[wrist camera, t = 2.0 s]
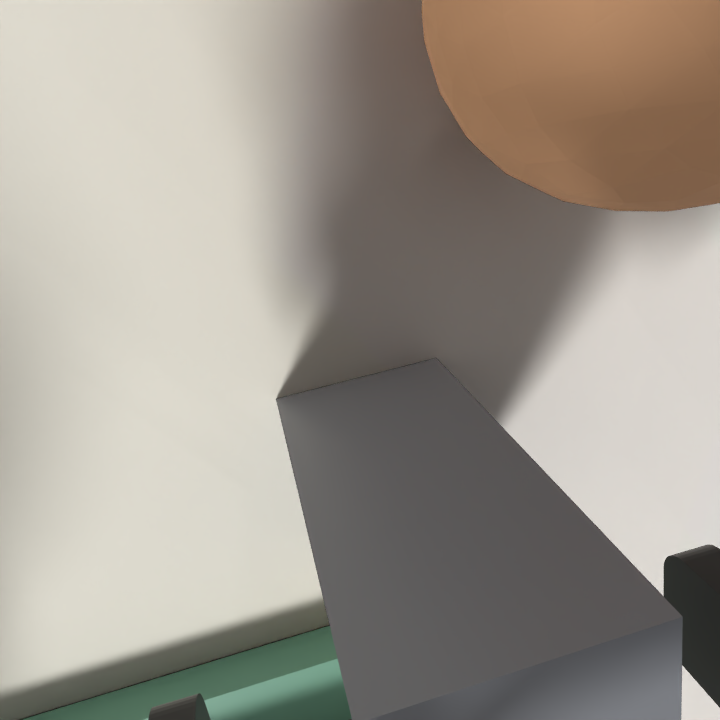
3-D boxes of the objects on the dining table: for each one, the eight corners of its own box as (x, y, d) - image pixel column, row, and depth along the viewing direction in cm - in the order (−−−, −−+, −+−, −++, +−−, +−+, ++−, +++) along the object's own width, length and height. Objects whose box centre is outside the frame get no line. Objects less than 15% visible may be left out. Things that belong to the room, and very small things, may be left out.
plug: (276, 398, 15) (352, 724, 7) (436, 357, 16) (682, 616, 8) (311, 540, 17) (409, 942, 9) (457, 499, 17) (679, 840, 9)
